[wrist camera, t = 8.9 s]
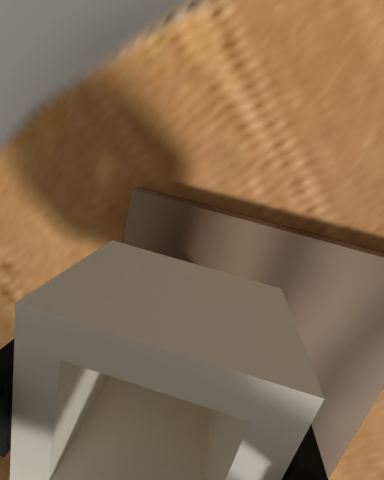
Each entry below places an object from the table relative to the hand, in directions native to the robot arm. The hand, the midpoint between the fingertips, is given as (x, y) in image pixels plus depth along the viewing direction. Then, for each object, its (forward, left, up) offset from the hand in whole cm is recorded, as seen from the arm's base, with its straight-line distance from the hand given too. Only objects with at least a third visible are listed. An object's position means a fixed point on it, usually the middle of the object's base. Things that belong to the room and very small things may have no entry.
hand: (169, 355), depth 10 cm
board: (-4, +5, -8) cm, 10 cm away
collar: (0, 0, -1) cm, 1 cm away
